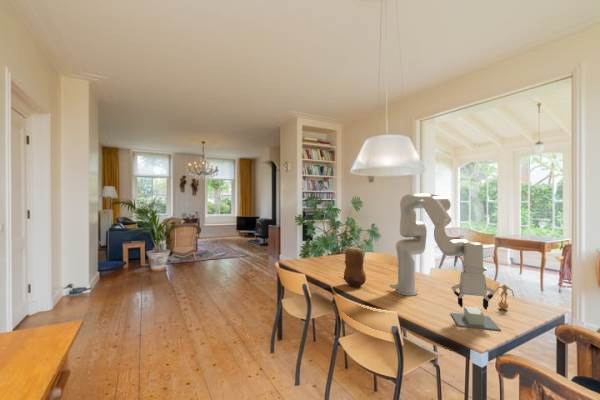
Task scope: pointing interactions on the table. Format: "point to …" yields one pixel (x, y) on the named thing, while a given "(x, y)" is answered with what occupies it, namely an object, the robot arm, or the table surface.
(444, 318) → the table surface
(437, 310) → the table surface
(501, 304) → the figurine
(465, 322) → the mat
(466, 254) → the robot arm
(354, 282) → the brown tall rounded piece
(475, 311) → the card box
